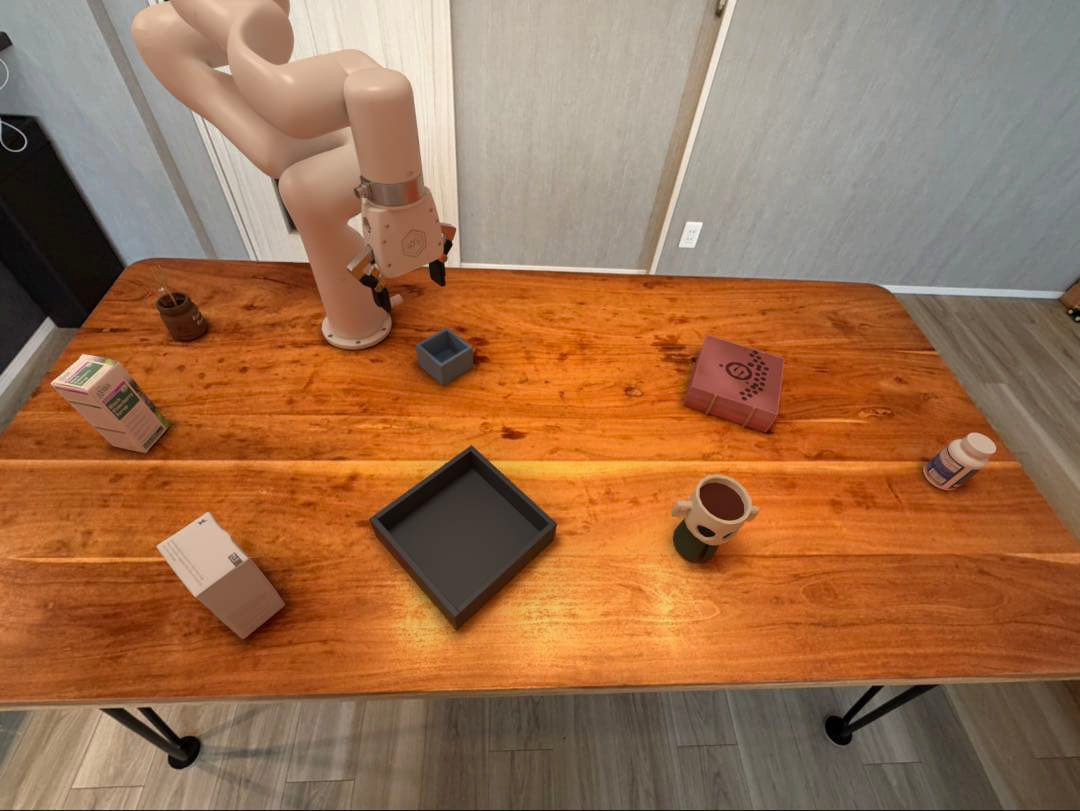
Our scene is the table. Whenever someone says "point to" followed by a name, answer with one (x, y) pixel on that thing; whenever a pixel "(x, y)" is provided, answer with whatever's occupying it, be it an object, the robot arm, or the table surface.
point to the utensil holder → (179, 312)
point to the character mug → (711, 516)
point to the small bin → (445, 356)
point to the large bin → (463, 534)
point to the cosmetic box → (221, 575)
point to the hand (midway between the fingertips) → (412, 294)
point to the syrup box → (112, 402)
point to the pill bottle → (959, 461)
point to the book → (736, 383)
